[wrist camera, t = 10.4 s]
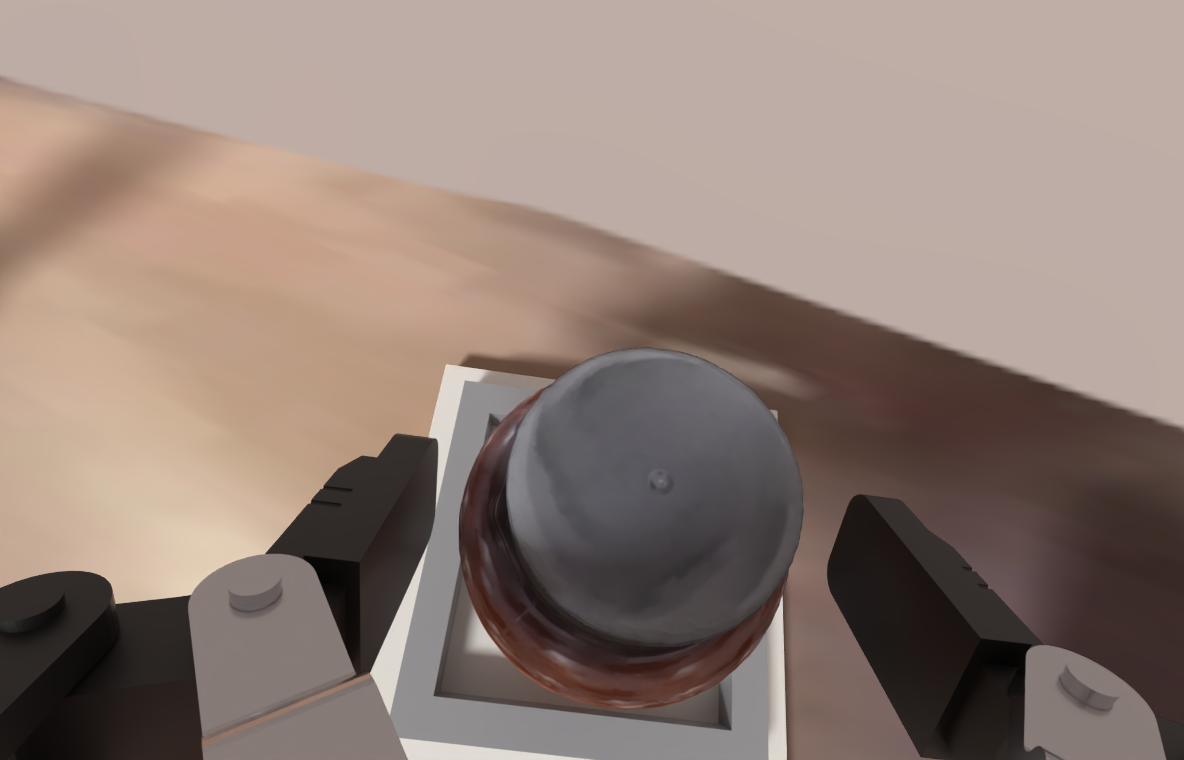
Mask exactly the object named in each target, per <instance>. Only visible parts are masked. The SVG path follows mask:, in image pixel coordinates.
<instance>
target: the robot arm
mask: <svg viewBox="0 0 1184 760" xmlns="http://www.w3.org/2000/svg"><path fill="white" fill-rule="evenodd" d="M437 471H438V441H437V439H436V438H428V437H421V436H413V435H405V434H395V435H394V436H393V437H392V439H391V440H390V441H389V443H388V444H387V445H386V447H385V448H384V449H383V450H382V452H381V453H380V454H379V456H378V457H377V458H376V457H368V456H361V457H359V458H357V459H355V460H353V461H351V462H350V463H348V464H346V465H344V466H342V467H340V468H338V469H337V471H336V472H335V473H334V474H333V475H332V477H331V478H330V479H329V480H328V481H327V482H326V484H325V485H324V487H323V489H320V491H319V492H318V493H317V494H316V495H315V496H314V498H313V499H312V500H311V504H308V505H307V506H306V507H305V508H304V509H303V510H302V512H301V513H300V514H299V515H298V516H297V517H296V519H295V520H294V521H293V522H292V523H291V524H290V526H289V527H288V528H287V529H286V530H285V531H284V533H283V534H282V535H281V536H280V537H279V538H278V540H277V541H276V542H275V543H274V544H273V545H272V547H271V548H270V549H269V550H268V551H267V552H266V554H264V555H257V556H252V557H247V558H244V559H241V560H237V561H235V562H232V563H230V564H227V565H225V566H224V567H222V568H220V569H218V570H216V571H215V572H213V573H212V574H210V575H209V576H208V577H206V578H205V579H204V580H203V581H202V582H201V583H200V584H199V585H198V586H197V587H196V588H195V590H194V591H193V593H192V595H188V596H182V597H175V598H166V599H157V600H148V601H139V602H130V603H121V604H115V600H114V595H113V590H112V587H111V584H110V583H109V582H108V581H107V580H106V579H105V578H104V577H102V576H100V575H97V574H94V573H91V572H84V571H63V572H54V573H48V574H42V575H38V576H34V577H30V578H27V579H24V580H20V581H17V582H14V583H12V584H9V585H7V586H4V587H1V588H0V760H408V758H407V756H406V753H405V751H404V749H403V746H402V744H401V742H400V739H399V737H398V734H397V732H396V730H395V727H394V725H393V722H392V720H391V718H390V715H389V713H388V711H387V708H386V706H385V703H384V701H383V699H382V696H381V694H380V691H379V689H378V687H377V685H376V683H375V681H374V679H373V677H372V676H371V674H370V672H371V670H372V667H373V665H374V663H375V661H376V658H377V656H378V654H379V652H380V650H381V647H382V645H383V643H384V641H385V638H386V636H387V634H388V632H389V629H390V627H391V625H392V623H393V621H394V618H395V616H396V614H397V612H398V609H399V607H400V605H401V603H402V600H403V598H404V596H405V594H406V592H407V589H408V587H409V585H410V583H411V580H412V578H413V576H414V574H415V572H416V569H417V567H418V565H419V563H420V560H421V558H422V556H423V554H424V551H425V549H426V547H427V545H428V542H429V540H430V536H431V533H432V529H433V524H434V519H435V511H436V492H437ZM827 579H828V585H829V589H830V592H831V594H832V596H833V598H834V599H835V601H836V603H837V605H838V607H839V609H840V610H841V612H842V614H843V616H844V618H845V619H846V621H847V623H848V625H849V627H850V629H851V630H852V632H853V634H854V636H855V638H856V640H857V641H858V643H859V645H860V647H861V649H862V651H863V652H864V654H865V656H866V658H867V660H868V662H869V663H870V665H871V667H872V669H873V671H874V673H875V674H876V676H877V678H878V680H879V682H880V683H881V685H882V687H883V689H884V691H885V693H886V694H887V696H888V698H889V700H890V702H891V704H892V705H893V707H894V709H895V711H896V713H897V715H898V716H899V718H900V720H901V722H902V724H903V726H904V727H905V729H906V731H907V733H908V735H909V737H910V738H911V740H912V742H913V744H914V746H915V747H916V749H917V751H918V753H919V755H920V757H924V758H933V759H942V760H1184V725H1181V724H1178V723H1176V722H1173V721H1170V720H1167V719H1164V718H1161V717H1158V716H1155V715H1154V713H1153V712H1152V710H1151V708H1150V707H1149V706H1148V704H1147V703H1146V702H1145V701H1144V699H1143V698H1142V697H1141V696H1140V695H1139V694H1138V693H1137V692H1136V691H1135V690H1134V689H1133V688H1131V687H1130V686H1129V685H1128V684H1127V683H1126V682H1124V681H1123V680H1122V679H1120V678H1119V677H1118V676H1116V675H1115V674H1113V673H1112V672H1110V671H1109V670H1107V669H1106V668H1104V667H1102V666H1101V665H1099V664H1097V663H1096V662H1094V661H1092V660H1090V659H1088V658H1086V657H1084V656H1081V655H1079V654H1077V653H1074V652H1071V651H1069V650H1066V649H1062V648H1059V647H1054V646H1048V645H1043V643H1042V642H1041V641H1040V640H1039V639H1038V638H1037V637H1036V636H1035V635H1034V634H1033V633H1032V632H1031V631H1030V630H1029V628H1028V627H1027V626H1026V625H1025V624H1024V623H1023V622H1022V621H1021V620H1020V619H1019V618H1018V617H1017V616H1016V614H1015V613H1014V612H1013V611H1012V610H1011V609H1010V608H1009V607H1008V606H1007V605H1006V604H1005V603H1004V602H1003V601H1002V599H1001V598H1000V597H999V596H998V595H997V594H996V593H995V592H994V591H993V590H992V589H988V584H987V583H986V582H985V581H984V580H983V579H982V578H981V577H980V576H979V575H978V574H977V573H976V572H973V571H972V567H971V566H970V565H969V564H968V563H967V562H966V561H965V560H964V559H963V558H962V557H961V555H960V554H959V553H958V552H957V551H956V550H955V549H954V548H953V547H952V546H950V545H949V544H947V543H946V542H945V541H943V540H942V539H940V538H939V537H937V536H936V535H935V534H933V533H932V532H930V531H929V530H928V529H927V528H926V527H925V526H924V525H923V524H922V523H921V521H920V520H919V519H918V518H917V517H916V516H915V515H914V514H913V513H912V512H911V510H910V509H909V508H908V507H907V506H906V505H905V504H904V503H903V502H902V501H900V500H898V499H893V498H885V497H877V496H870V495H862V494H858V495H856V496H854V497H853V498H852V499H851V501H850V502H849V505H848V507H847V510H846V513H845V516H844V518H843V521H842V524H841V527H840V530H839V532H838V535H837V538H836V541H835V544H834V546H833V549H832V552H831V555H830V558H829V561H828V568H827Z"/></svg>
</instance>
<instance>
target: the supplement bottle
mask: <svg viewBox="0 0 1184 760" xmlns="http://www.w3.org/2000/svg"><path fill="white" fill-rule="evenodd" d="M803 512H804V510H803V489H802V480H801V475H800V471H799V467H798V464H797V461H796V459H795V456H794V454H793V451H792V448H791V446H790V443H789V440H788V438H787V436H786V434H785V433H784V431H783V430H782V428H781V427H780V425H779V423H778V421H777V419H776V418H775V417H774V415H773V414H772V412H771V411H770V409H769V408H768V407H767V406H766V405H765V403H764V402H763V401H762V400H761V399H760V398H759V397H758V396H757V395H756V394H755V393H754V391H752V390H751V389H750V388H748V387H747V386H746V385H745V384H744V383H743V382H741V381H740V380H739V379H738V378H736V377H735V376H733V375H732V374H730V373H729V372H727V371H726V370H723V369H721V368H719V367H718V366H717V365H715V364H713V363H711V362H709V361H707V360H705V359H702V358H700V357H697V356H693V355H690V354H687V353H684V352H678V351H672V350H666V349H652V348H648V347H643V348H630V349H621V350H617V351H613V352H609V353H605V354H600V355H597V356H595V357H592V358H590V359H588V360H586V361H584V362H583V363H581V364H579V365H576V366H575V367H573V368H572V369H571V370H570V371H568V372H566V373H565V374H563V375H562V376H561V377H559V378H558V379H556V380H555V381H554V382H553V383H552V384H550V385H548V386H546V387H545V388H542V389H540V390H539V391H537V392H536V393H535V394H533V395H532V396H529V397H528V398H526V399H525V400H524V401H523V402H521V403H520V404H518V405H517V406H516V407H515V408H514V409H513V410H512V411H511V412H510V413H509V414H507V416H506V417H505V418H504V419H503V420H502V421H501V423H500V424H499V425H498V426H497V427H496V428H495V429H494V430H493V431H492V433H491V434H490V435H489V437H488V439H487V441H486V443H485V444H484V445H483V447H482V448H481V450H480V452H479V454H478V456H477V458H476V460H475V462H474V464H473V467H472V469H471V471H470V474H469V477H468V480H467V482H466V486H465V490H464V494H463V498H462V502H461V507H460V513H459V553H460V558H461V565H462V571H463V576H464V580H465V584H466V587H467V590H468V593H469V596H470V599H471V602H472V605H473V607H474V609H475V611H476V613H477V615H478V618H479V620H480V622H481V624H482V625H483V627H484V629H485V630H486V632H487V633H488V635H489V636H490V638H491V639H492V640H493V642H494V643H495V644H496V645H497V647H498V648H499V649H500V650H501V652H502V653H503V654H504V655H505V656H506V657H507V658H508V659H509V660H510V661H511V662H512V663H513V664H514V665H515V666H516V667H517V668H518V669H519V670H520V671H521V672H522V673H524V674H525V675H527V676H528V677H530V678H531V679H532V680H534V681H535V682H537V683H538V684H540V685H541V686H543V687H545V688H547V689H549V690H550V691H552V692H554V693H557V694H560V695H562V696H565V697H567V698H570V699H573V700H575V701H578V702H582V703H585V704H589V705H593V706H598V707H603V708H610V709H621V710H638V709H649V708H657V707H662V706H666V705H670V704H674V703H678V702H681V701H684V700H686V699H688V698H691V697H693V696H696V695H698V694H700V693H702V692H704V691H706V690H708V689H710V688H712V687H714V686H715V685H716V684H718V683H719V682H721V681H722V680H723V679H725V678H726V677H727V676H728V675H729V674H730V673H732V672H733V671H734V670H735V669H737V668H738V666H739V665H740V664H741V663H742V662H743V661H744V660H745V659H747V658H748V657H749V656H750V655H751V653H752V652H753V651H754V649H755V648H756V647H757V646H758V644H759V643H760V641H761V639H762V638H763V636H764V635H765V633H766V631H767V630H768V628H769V626H770V625H771V623H772V620H773V618H774V616H775V613H776V611H777V609H778V607H779V605H780V601H781V598H782V595H783V591H784V588H785V585H786V581H787V577H788V570H789V567H790V565H791V564H792V562H793V558H794V554H795V552H796V550H797V547H798V544H799V539H800V532H801V528H802V519H803Z"/></svg>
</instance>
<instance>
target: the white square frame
mask: <svg viewBox="0 0 1184 760" xmlns="http://www.w3.org/2000/svg"><path fill="white" fill-rule="evenodd" d="M554 381H555V380H554V379H547V378H540V377H533V376H526V375H518V374H511V373H504V372H497V371H490V370H483V369H476V368H468V367H461V366H454V365H447V364H446V367H445V371H444V375H443V379H442V383H441V388H440V392H439V396H438V400H437V404H436V408H435V412H434V416H433V421H432V425H431V429H430V433H429V437H428V438H436V439H437V441H438V471H437V492H436V511H435V519H434V524H433V529H432V533H431V536H430V540H429V542H428V545H427V547H426V549H425V551H424V554H423V556H422V558H421V560H420V563H419V565H418V567H417V569H416V572H415V574H414V576H413V578H412V580H411V583H410V585H409V587H408V589H407V592H406V594H405V596H404V598H403V600H402V603H401V605H400V607H399V609H398V612H397V614H396V616H395V618H394V621H393V623H392V625H391V627H390V629H389V632H388V634H387V636H386V638H385V641H384V643H383V645H382V647H381V650H380V652H379V654H378V656H377V658H376V661H375V663H374V665H373V668H372V673H371V676H372V677H373V679H374V681H375V683H376V685H377V687H378V689H379V691H380V694H381V696H382V699H383V701H384V703H385V706H386V708H387V711H388V713H389V715H390V718H391V720H392V722H393V725H394V727H395V730H396V732H397V734H398V737H399V739H400V742H401V744H402V746H403V749H404V751H405V753H406V756H407V758H408V760H787V745H786V709H785V672H784V635H783V598H781V601H780V605H779V607H778V609H777V611H776V613H775V616H774V618H773V620H772V623H771V625H770V626H769V628H768V630H767V631H766V633H765V635H764V636H763V638H762V639H761V641H760V643H759V644H758V646H757V647H756V648H755V649H754V651H753V652H752V653H751V655H750V656H749V657H748V658H747V659H745V660H744V661H743V662H742V663H741V664H740V665H739V666H738V668H737V669H735V670H734V671H733V672H732V673H730V674H729V675H728V676H727V677H726V678H725V679H723V680H722V681H721V682H719V683H718V684H716V685H715V686H714V687H712V688H710V689H708V690H706V691H704V692H702V693H700V694H698V695H696V696H693V697H691V698H688V699H686V700H684V701H681V702H678V703H674V704H670V705H666V706H662V707H657V708H649V709H638V710H621V709H610V708H603V707H598V706H593V705H589V704H585V703H582V702H578V701H575V700H573V699H570V698H567V697H565V696H562V695H560V694H557V693H554V692H552V691H550V690H549V689H547V688H545V687H543V686H541V685H540V684H538V683H537V682H535V681H534V680H532V679H531V678H530V677H528V676H527V675H525V674H524V673H522V672H521V671H520V670H519V669H518V668H517V667H516V666H515V665H514V664H513V663H512V662H511V661H510V660H509V659H508V658H507V657H506V656H505V655H504V654H503V653H502V652H501V650H500V649H499V648H498V647H497V645H496V644H495V643H494V642H493V640H492V639H491V638H490V636H489V635H488V633H487V632H486V630H485V629H484V627H483V625H482V624H481V622H480V620H479V618H478V615H477V613H476V611H475V609H474V607H473V605H472V602H471V599H470V596H469V593H468V590H467V587H466V584H465V580H464V576H463V571H462V565H461V558H460V553H459V513H460V507H461V502H462V498H463V494H464V490H465V486H466V482H467V480H468V477H469V474H470V471H471V469H472V467H473V464H474V462H475V460H476V458H477V456H478V454H479V452H480V450H481V448H482V447H483V445H484V444H485V443H486V441H487V439H488V437H489V435H490V434H491V433H492V431H493V430H494V429H495V428H496V427H497V426H498V425H499V424H500V423H501V421H502V420H503V419H504V418H505V417H506V416H507V414H509V413H510V412H511V411H512V410H513V409H514V408H515V407H516V406H517V405H518V404H520V403H521V402H523V401H524V400H525V399H526V398H528V397H529V396H532V395H533V394H535V393H536V392H537V391H539V390H540V389H542V388H545V387H546V386H548V385H550V384H552V383H553V382H554ZM770 411H771V412H772V414H773V415H774V417H775V418H776V419H777V421H778V414H777V411H775V410H770Z"/></svg>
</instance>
